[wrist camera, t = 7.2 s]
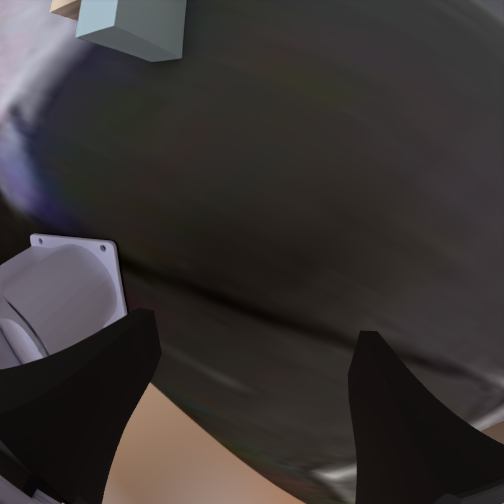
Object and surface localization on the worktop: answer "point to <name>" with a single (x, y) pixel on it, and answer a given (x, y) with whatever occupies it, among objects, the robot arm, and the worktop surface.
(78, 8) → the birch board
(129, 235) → the worktop surface
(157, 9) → the teal plate
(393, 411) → the robot arm
